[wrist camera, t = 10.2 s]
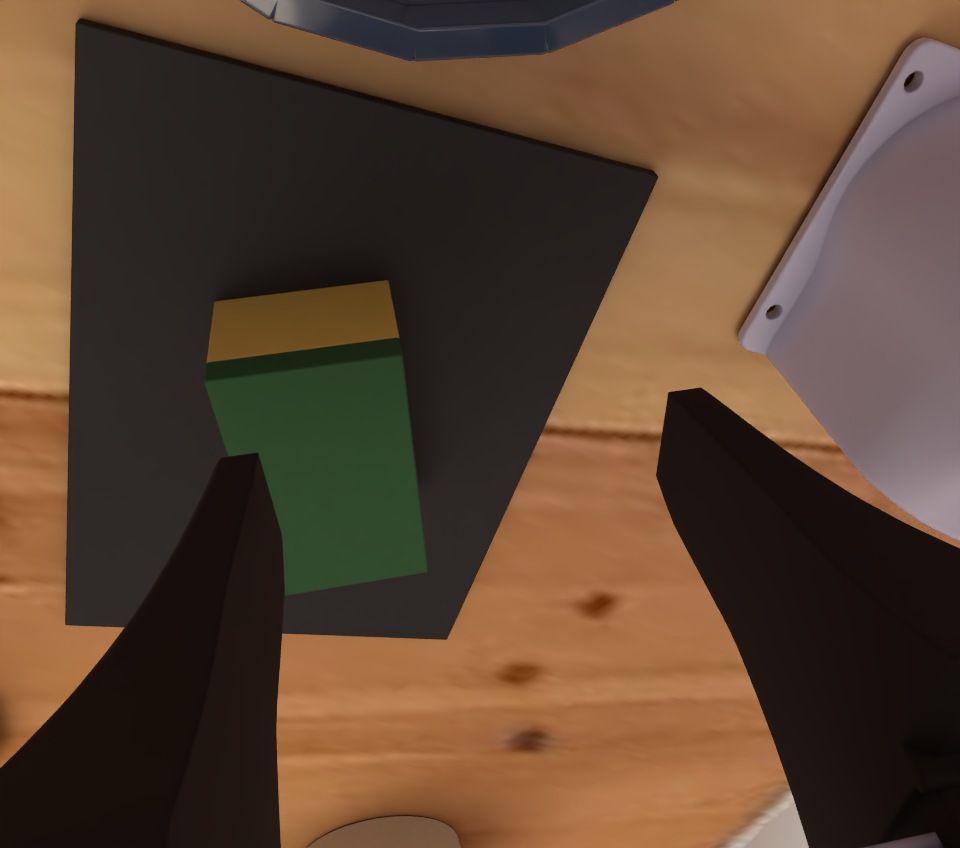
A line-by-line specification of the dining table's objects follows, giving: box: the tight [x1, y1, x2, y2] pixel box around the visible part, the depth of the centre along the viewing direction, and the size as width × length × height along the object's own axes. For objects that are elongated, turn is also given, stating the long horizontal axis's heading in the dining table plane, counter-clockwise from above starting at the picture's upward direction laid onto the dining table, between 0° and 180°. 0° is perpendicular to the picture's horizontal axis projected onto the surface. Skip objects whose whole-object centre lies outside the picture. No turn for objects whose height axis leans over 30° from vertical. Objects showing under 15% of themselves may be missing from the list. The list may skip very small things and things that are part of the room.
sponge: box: [204, 280, 428, 596], centre depth 23 cm, size 8×5×4 cm, turn 2°
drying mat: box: [65, 19, 658, 640], centre depth 25 cm, size 20×14×1 cm
